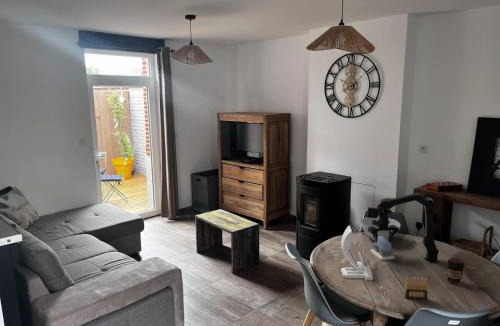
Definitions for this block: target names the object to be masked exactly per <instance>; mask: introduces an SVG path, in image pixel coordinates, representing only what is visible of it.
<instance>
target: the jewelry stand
mask: <svg viewBox="0 0 500 326" xmlns="http://www.w3.org/2000/svg"><path fill="white" fill-rule="evenodd" d="M353 233H354V232H353V231H352V228H351V226H350V225H348V226H347V227H346V229H345V230H344V232H343V235H342V237H341V241H340V248H341V249H340V250H341V251H342V253H343V255H344V256H345V258H346V259H347V261H348V262H349V264H351V265H352V267H342V268H340V273H341V272H342V273H341V274H342V276H344V277H345V278H344V277H343V278H344V279H365V281H373V279H374V277H373V273H372V270H371V266H370V265H369V264H367V261H366V259H365V258H364V257H362V254H361V253H360V251H357V253H358V256H359V258H360V259H359V260H360V261H355V260H354V258H353V256H352V255H351V252H350V247H351V246H352V245H357V241H356V237H355V236H354V234H353ZM357 265H358V266H357Z"/></svg>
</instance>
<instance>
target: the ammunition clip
mask: <svg viewBox="0 0 500 326" xmlns="http://www.w3.org/2000/svg"><path fill="white" fill-rule="evenodd" d="M428 285H429V284H428V277H427V276H426V277H425V278H424V276H422V277H420V276H418V277H416V276H414V277H413V276H410V277H409V275H408V276H407V277H406V282H405V288H404V295H403V296H404V298H405V299H407V300H409V299H411V300H426V301H427V300H428Z"/></svg>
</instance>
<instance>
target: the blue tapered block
mask: <svg viewBox="0 0 500 326" xmlns="http://www.w3.org/2000/svg"><path fill="white" fill-rule="evenodd" d="M374 244H376V245H377V246H378V247H379V248H381V249H382V250H383V251H391V248H392V242H391V241H390V242H389V240H386V239H385V238H383V237H382V236H378V239H377V243H376V242H375V241H374ZM391 252H392V251H391Z"/></svg>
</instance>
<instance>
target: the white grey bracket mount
mask: <svg viewBox="0 0 500 326" xmlns="http://www.w3.org/2000/svg"><path fill="white" fill-rule="evenodd" d="M371 245H373V248H372V249H370V252H371V253H372V254H373V255H374V256H376V258H378V259H379V260H380V261H388V260H394V259H395V256H394V255H393V254H392V251H394V248H393V247H391V251H383V250H382V249H381V248H379V247H378V246H377V245H376V244H375V242H372V243H371Z"/></svg>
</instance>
